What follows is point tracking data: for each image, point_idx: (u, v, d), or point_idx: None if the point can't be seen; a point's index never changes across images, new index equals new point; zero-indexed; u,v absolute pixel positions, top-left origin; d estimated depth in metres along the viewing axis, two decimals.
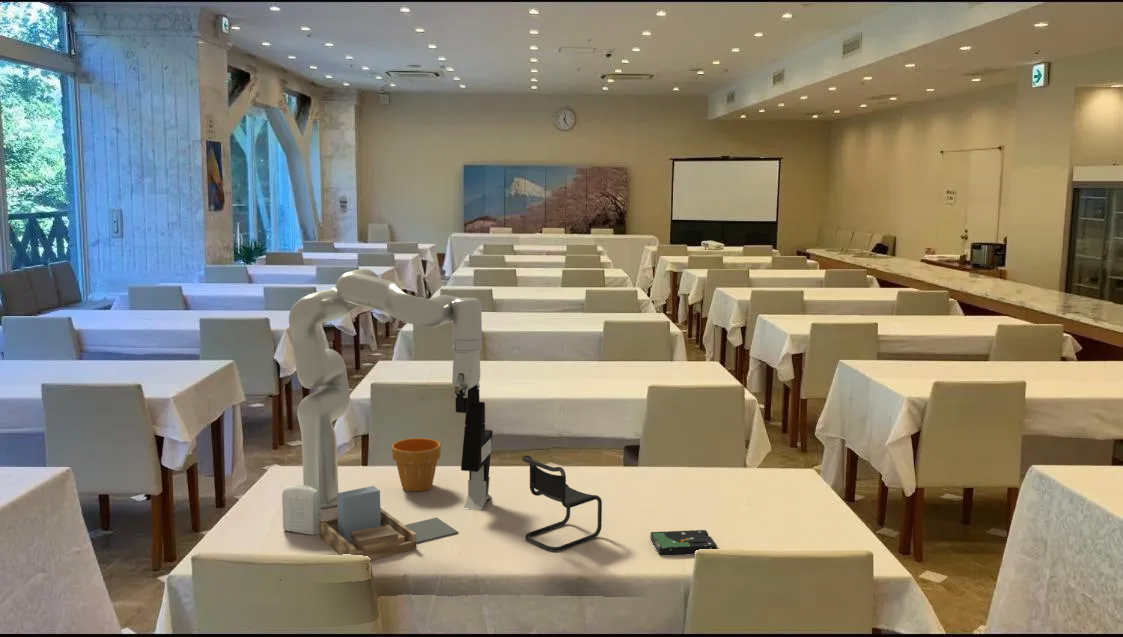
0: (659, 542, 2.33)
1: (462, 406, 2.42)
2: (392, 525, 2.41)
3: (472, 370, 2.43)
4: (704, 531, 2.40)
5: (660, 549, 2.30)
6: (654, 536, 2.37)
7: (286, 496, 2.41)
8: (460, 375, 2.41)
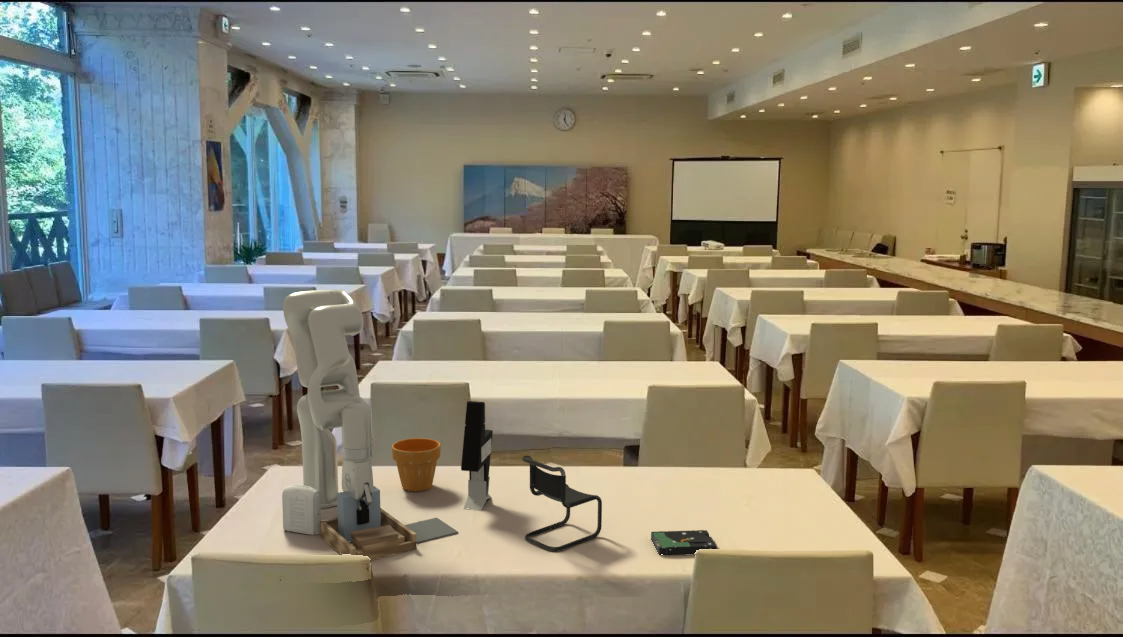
0: (659, 542, 2.33)
1: (366, 517, 2.37)
2: (392, 525, 2.41)
3: None
4: (705, 531, 2.40)
5: (660, 549, 2.30)
6: (654, 536, 2.37)
7: (286, 496, 2.41)
8: (366, 488, 2.34)
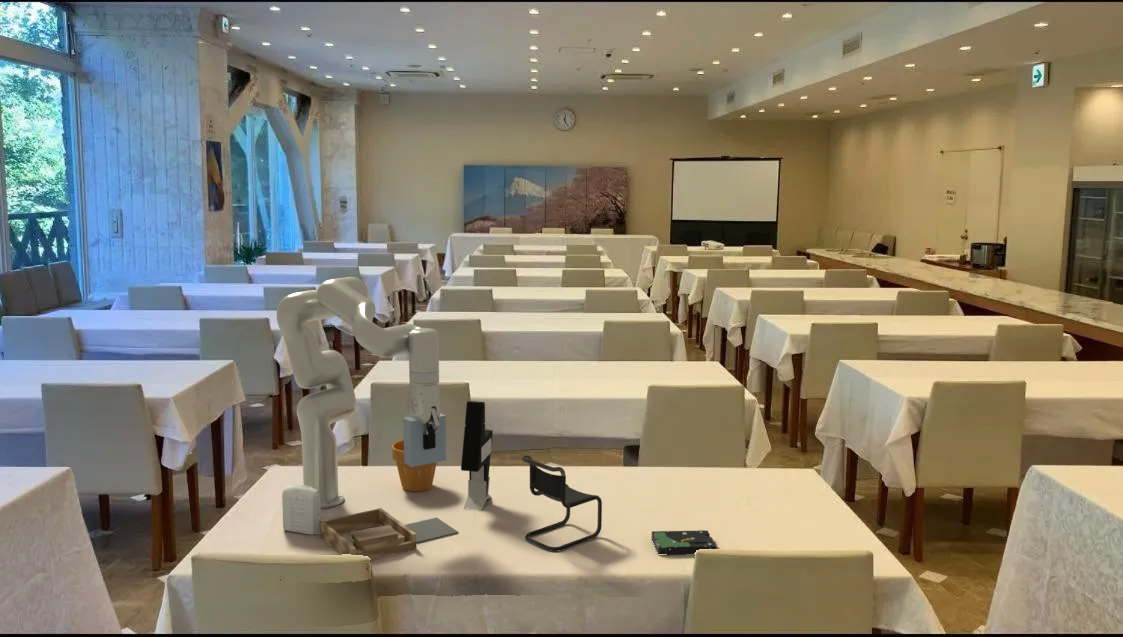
0: (659, 542, 2.33)
1: (432, 442, 2.38)
2: (392, 525, 2.41)
3: None
4: (706, 531, 2.40)
5: (659, 549, 2.30)
6: (655, 535, 2.37)
7: (286, 496, 2.41)
8: (433, 411, 2.34)
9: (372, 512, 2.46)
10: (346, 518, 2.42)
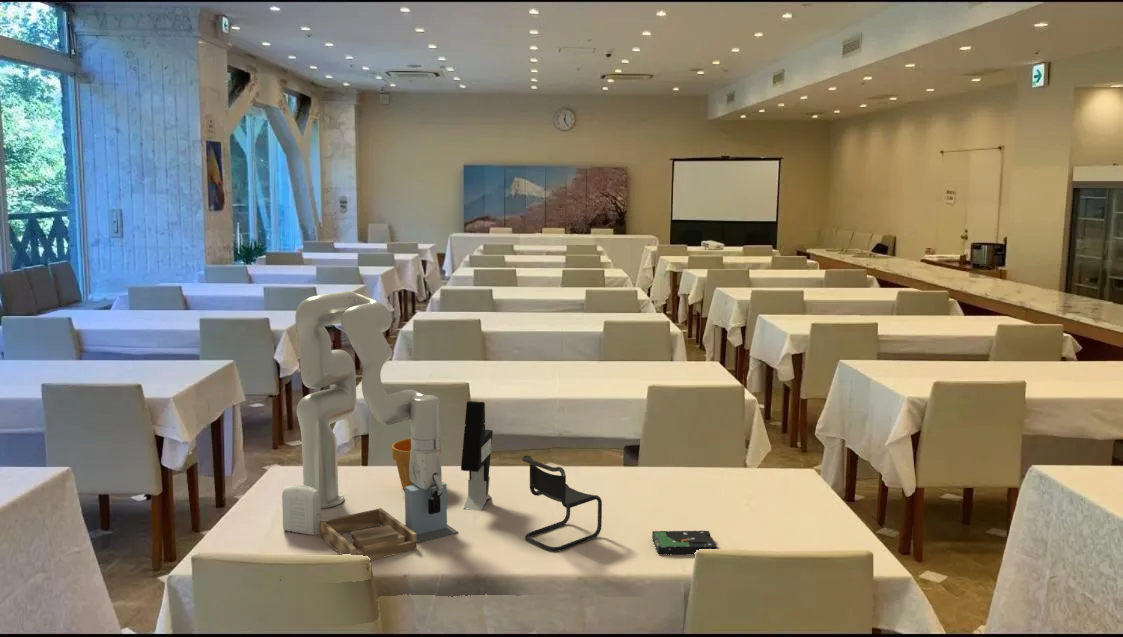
0: (659, 541, 2.33)
1: (437, 506, 2.39)
2: (392, 525, 2.41)
3: None
4: (706, 532, 2.40)
5: (659, 548, 2.30)
6: (655, 535, 2.37)
7: (286, 496, 2.41)
8: (435, 476, 2.37)
9: (372, 512, 2.46)
10: (346, 518, 2.42)
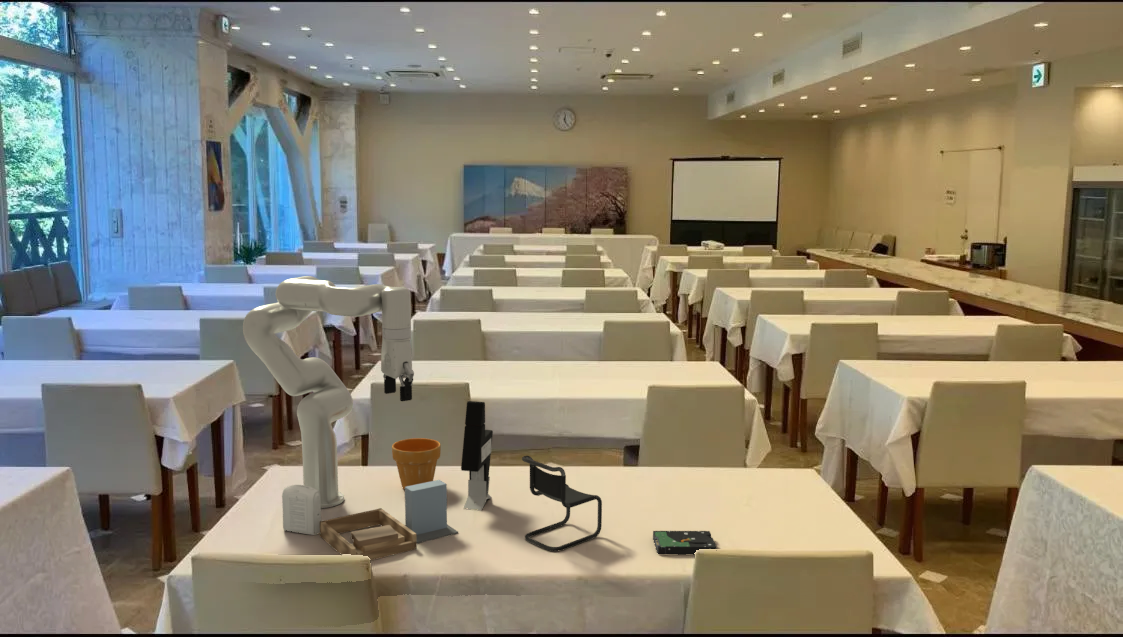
0: (659, 541, 2.33)
1: (409, 394, 2.45)
2: (392, 525, 2.41)
3: None
4: (707, 532, 2.39)
5: (658, 548, 2.30)
6: (655, 535, 2.37)
7: (286, 496, 2.41)
8: (405, 363, 2.43)
9: (372, 512, 2.46)
10: (346, 518, 2.42)
